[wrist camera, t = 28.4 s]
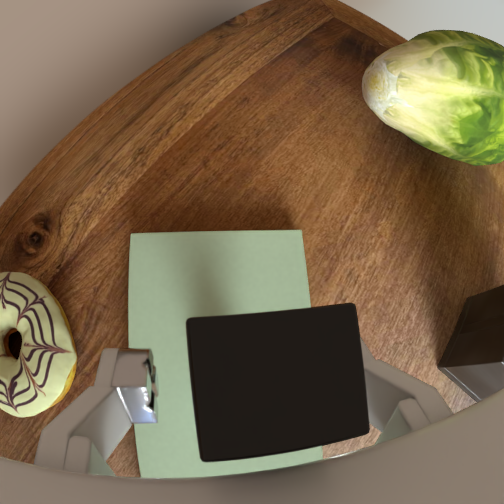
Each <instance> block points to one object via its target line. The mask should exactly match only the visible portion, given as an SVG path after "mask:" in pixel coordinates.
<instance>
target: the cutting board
mask: <svg viewBox="0 0 504 504" xmlns="http://www.w3.org/2000/svg"><path fill="white" fill-rule="evenodd" d="M309 307H311V304H310V295H309V286H308V277H307V269H306V261H305V253H304V245H303V238H302V231H301V230H247V231H196V232H158V233H131V236H130V254H129V280H128V342H129V348H151V349H152V353H153V357H154V359H153V365H154V366H155V367H156V369H157V374H158V382H159V396H158V397H157V398H156V400H157V403H158V423H143V424H134V431H135V440H136V448H137V455H138V462H139V469H140V476H141V478H185V477H206V476H219V475H230V474H240V473H248V472H256V471H263V470H270V469H276V468H282V467H287V466H293V465H298V464H303V463H308V462H312V461H317V460H321V459H323V455H322V446H319V447H315V448H310V449H305V450H300V451H295V452H289V453H284V454H278V455H271V456H265V457H258V458H250V459H242V460H232V461H222V462H209V463H206V462H202V461H201V459H200V456H199V448H198V441H197V434H196V426H195V418H194V409H193V401H192V392H191V382H190V372H189V361H188V349H187V337H186V320H187V319H188V318H190V317H202V316H218V315H232V314H245V313H257V312H268V311H279V310H289V309H299V308H309Z"/></svg>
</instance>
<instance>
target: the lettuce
mask: <svg viewBox="0 0 504 504" xmlns="http://www.w3.org/2000/svg"><path fill="white" fill-rule="evenodd" d="M362 94H363V98H364V100H365V103H366V104H367V105H368V106H369V108H370V109H371V110H372V111H373V112H374V113H375V114H376V116H377V117H378V118H380V119H381V120H382V121H383V122H384V123H385V124H387V125H389V126H391V127H393V128H395V129H396V130H398V131H400V132H402V133H404V134H405V135H406V136H407V137H409V138H410V139H411V140H412V141H414V142H415V143H417V144H419V145H421V146H423V147H425V148H427V149H429V150H431V151H434V152H436V153H438V154H441V155H443V156H446V157H448V158H451V159H454V160H458V161H463V162H466V163H469V164H471V165H474V166H478V165H489V164H496V163H500V162H502V161H504V47H503V46H502V45H500V44H498V43H496V42H494V41H492V40H489V39H487V38H484V37H481V36H478V35H475V34H473V33H468V32H464V31H454V30H434V31H429V32H425V33H422V34H418V35H417V36H415V37H414V38H412V39H411V40H409V41H408V42H406V43H403V44H401V45H398V46H396V47H393V48H391V49H389V50H388V51H386V52H384V53H383V54H381V55H380V56H378V57H377V58H376V59H375V60H374V61H373V62H372V63H371V64H370V65H369V66H368V68H367V69H366V70H365V73H364V76H363V79H362Z"/></svg>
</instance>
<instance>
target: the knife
mask: <svg viewBox="0 0 504 504" xmlns="http://www.w3.org/2000/svg"><path fill="white" fill-rule="evenodd" d="M186 337H187V349H188V361H189V372H190V382H191V392H192V401H193V409H194V418H195V426H196V434H197V441H198V448H199V456H200V459H201V461H202V462H206V463H209V462H222V461H232V460H242V459H250V458H258V457H265V456H271V455H278V454H284V453H289V452H295V451H300V450H305V449H310V448H315V447H319V446H324V445H328V444H332V443H336V442H340V441H344V440H348V439H352V438H355V437H359V436H362V435H366V434H367V433H369V430H370V428H369V414H368V402H367V391H366V381H365V372H364V363H363V355H362V347H361V339H360V332H359V325H358V318H357V311H356V306H355V304H353V303H344V304H335V305H327V306H318V307H309V308H299V309H289V310H279V311H268V312H257V313H245V314H232V315H218V316H202V317H190V318H188V319H187V320H186Z"/></svg>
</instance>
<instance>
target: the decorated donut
mask: <svg viewBox="0 0 504 504" xmlns="http://www.w3.org/2000/svg"><path fill="white" fill-rule="evenodd" d="M17 331H19V332H20V333H21V335H22V347H21V351H20V355H19V359H17V360H16V359H15V357H14V356H13V355H12V353H11V352H10V349H9V346H8V345H9V341H8V338H9V336H10V334H11V333H13V332H17ZM77 360H78V355H77V351H76V346H75V343H74V339H73V336H72V332H71V329H70V324H69V322H68V320H67V317H66V315H65V313H64V311H63V308H62V307H61V305H60V303H59V302H58V300H57V299H56V298H55V297H54V296H53V295H52V293H51V292H50V290H49V289H48V288H47V287H46V286H45V285H43V284H42V283H41V282H40V281H39V280H37V279H35V278H33V277H32V276H29V275H27V274H25V273H21V272H3V273H0V408H1V409H2V410H4V411H5V412H7V413H9V414H11V415H13V416H17V417H27V416H35V415H37V414H38V413H40V412H42V411H44V410H47V409H48V408H50V407H52V406H54V405H55V404H57V403H58V402H60V401H61V400H62V399H63V398H64V397H65V395H66V393H67V392H68V391H69V390H70V388H71V384H72V382H73V379H74V376H75V372H76V365H77Z"/></svg>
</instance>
